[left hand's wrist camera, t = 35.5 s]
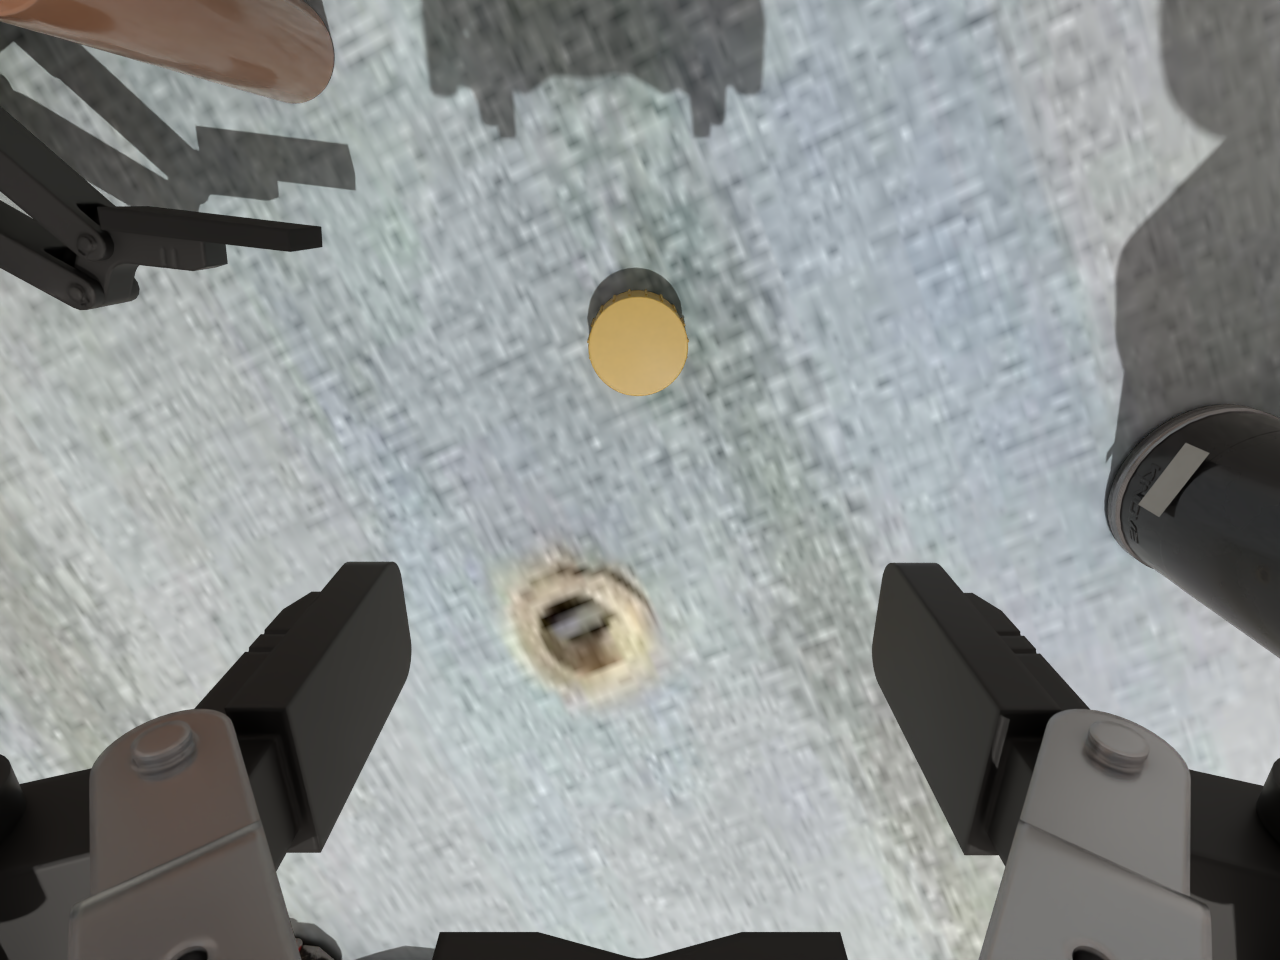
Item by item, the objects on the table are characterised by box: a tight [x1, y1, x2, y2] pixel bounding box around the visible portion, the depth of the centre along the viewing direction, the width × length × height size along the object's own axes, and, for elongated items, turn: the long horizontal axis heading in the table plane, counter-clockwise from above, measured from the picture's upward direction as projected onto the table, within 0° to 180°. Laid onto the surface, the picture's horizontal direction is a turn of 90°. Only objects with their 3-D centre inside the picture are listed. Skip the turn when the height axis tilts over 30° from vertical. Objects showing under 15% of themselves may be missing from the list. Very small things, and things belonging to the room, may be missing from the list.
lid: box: [587, 289, 689, 396], centre depth 32 cm, size 5×5×2 cm
